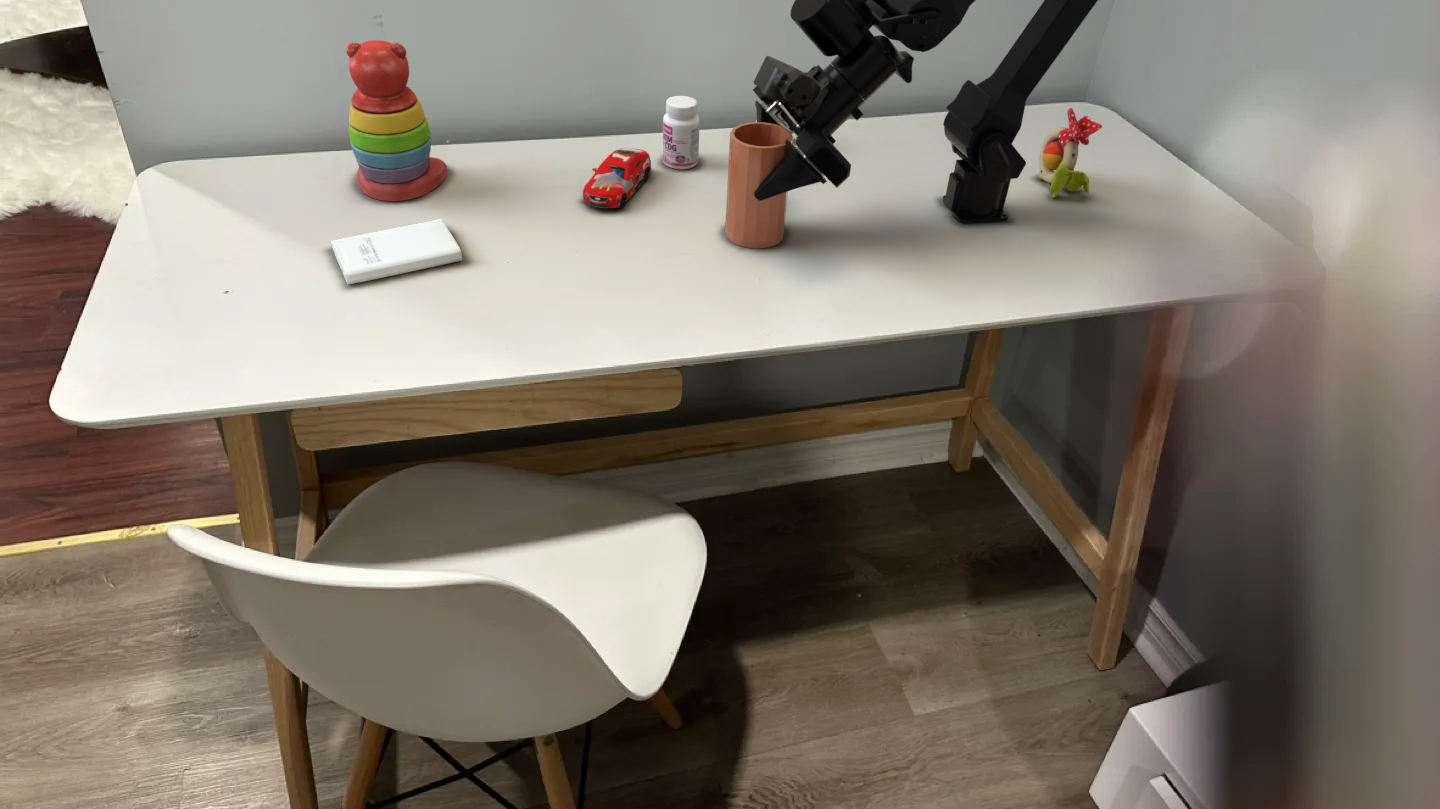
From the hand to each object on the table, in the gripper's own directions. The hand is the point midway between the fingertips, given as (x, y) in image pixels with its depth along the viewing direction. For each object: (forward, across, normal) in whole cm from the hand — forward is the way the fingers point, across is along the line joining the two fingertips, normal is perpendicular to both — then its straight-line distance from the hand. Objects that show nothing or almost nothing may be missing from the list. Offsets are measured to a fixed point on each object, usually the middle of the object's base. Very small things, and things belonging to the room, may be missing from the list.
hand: (746, 183), depth 114 cm
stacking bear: (+32, -21, -22) cm, 45 cm away
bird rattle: (-26, -4, +36) cm, 45 cm away
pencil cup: (+4, 0, +6) cm, 7 cm away
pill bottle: (+7, -20, +3) cm, 22 cm away
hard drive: (+33, -3, -23) cm, 40 cm away
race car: (+14, -14, -4) cm, 20 cm away
